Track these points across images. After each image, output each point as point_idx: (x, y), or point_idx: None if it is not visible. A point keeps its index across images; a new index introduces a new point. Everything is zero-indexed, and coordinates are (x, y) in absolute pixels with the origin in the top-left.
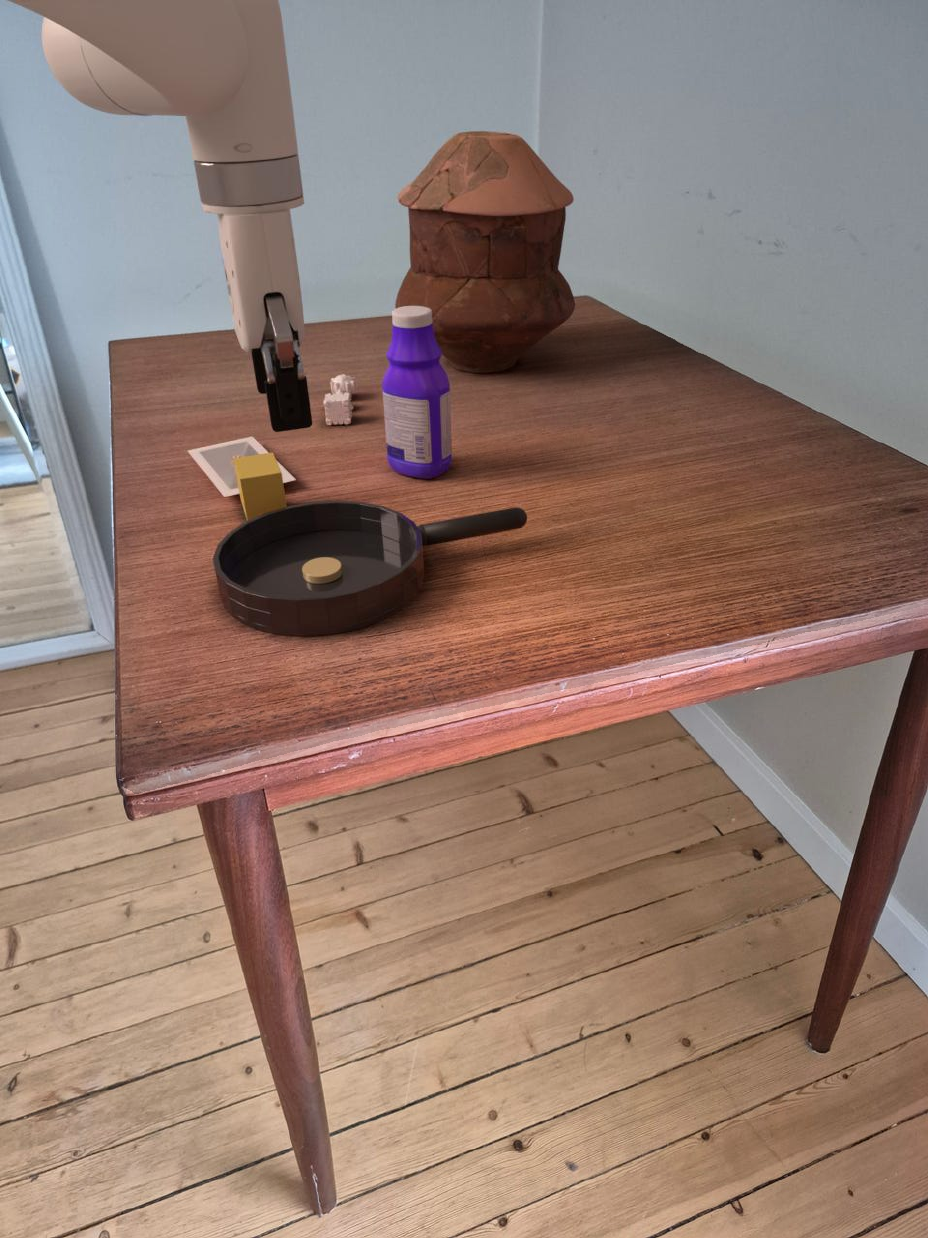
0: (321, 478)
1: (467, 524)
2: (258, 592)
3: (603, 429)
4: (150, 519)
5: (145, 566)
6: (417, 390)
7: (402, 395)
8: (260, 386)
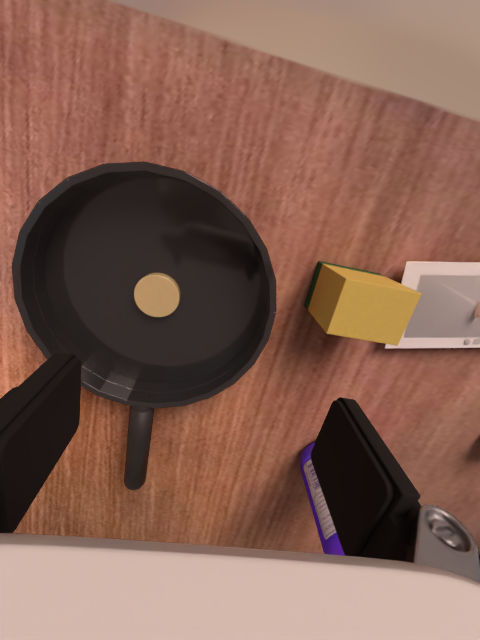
0: (384, 372)
1: (128, 444)
2: (58, 195)
3: None
4: (442, 156)
5: (316, 104)
6: (339, 547)
7: None
8: (340, 411)
